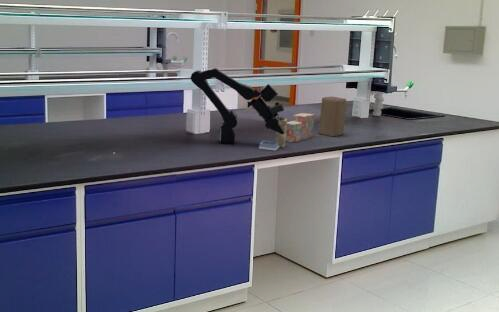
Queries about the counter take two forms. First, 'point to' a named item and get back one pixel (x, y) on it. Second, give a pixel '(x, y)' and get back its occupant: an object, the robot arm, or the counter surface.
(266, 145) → the blue square tray
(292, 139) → the stack of blocks
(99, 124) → the counter surface
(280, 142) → the maple pillar block
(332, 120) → the block
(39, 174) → the counter surface
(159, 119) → the counter surface
